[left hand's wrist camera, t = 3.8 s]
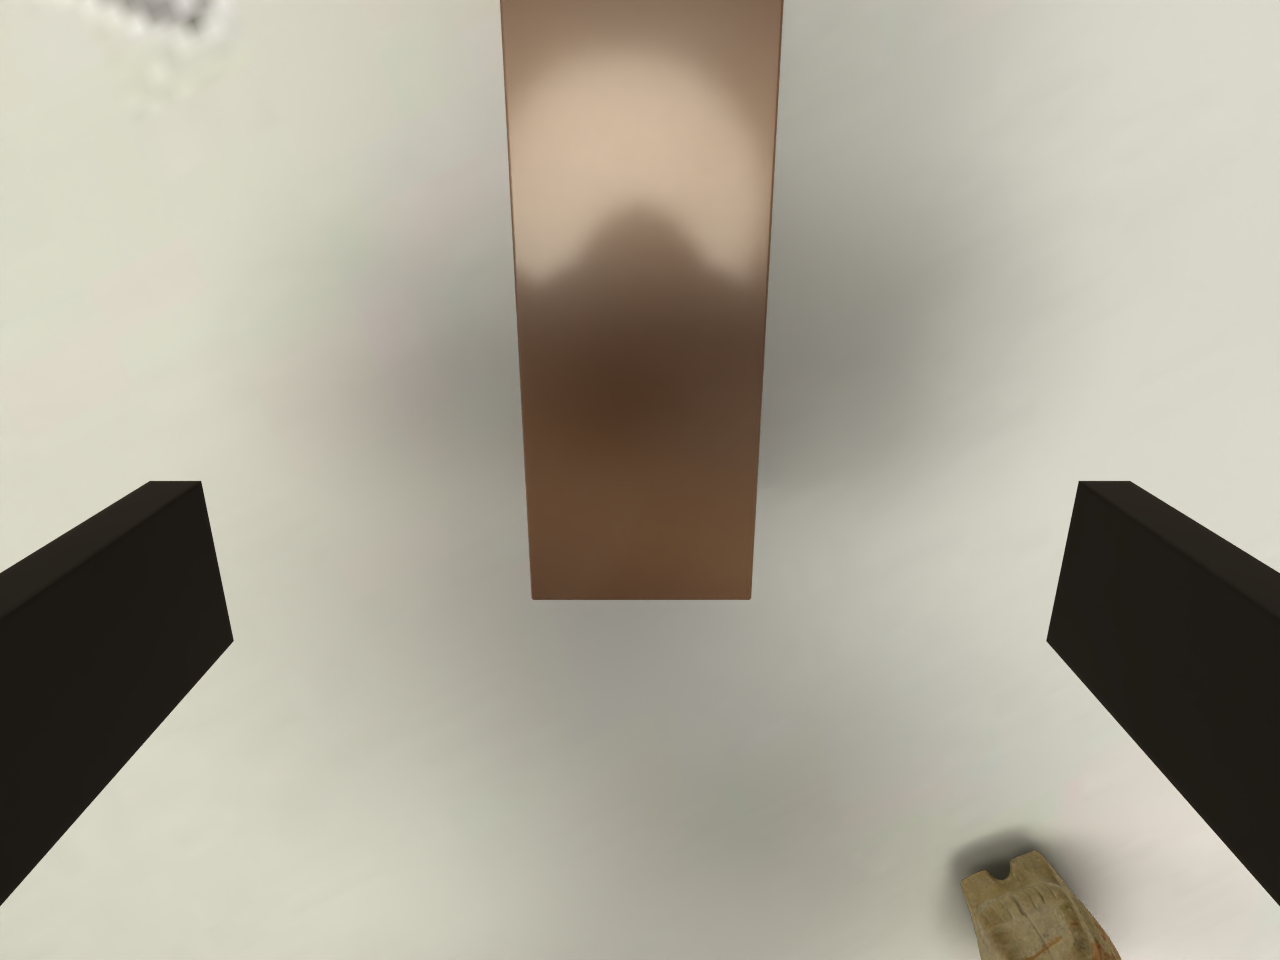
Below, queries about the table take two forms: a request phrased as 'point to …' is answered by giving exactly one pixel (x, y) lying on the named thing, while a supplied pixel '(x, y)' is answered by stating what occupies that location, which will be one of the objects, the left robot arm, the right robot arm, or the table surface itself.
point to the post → (641, 287)
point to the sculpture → (1032, 916)
